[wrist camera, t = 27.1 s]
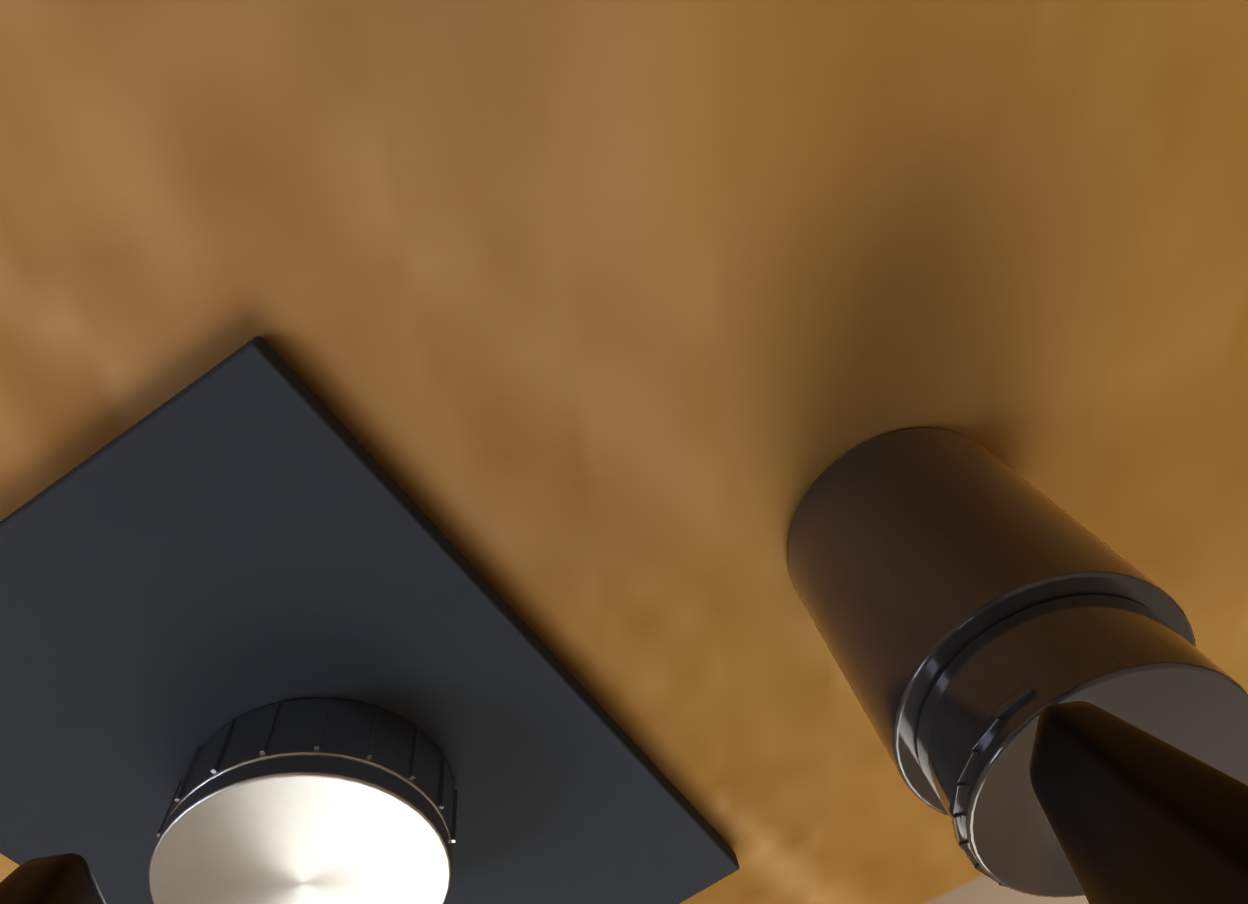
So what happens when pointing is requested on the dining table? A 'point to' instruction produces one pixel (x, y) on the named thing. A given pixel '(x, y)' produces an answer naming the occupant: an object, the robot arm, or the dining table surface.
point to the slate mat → (297, 654)
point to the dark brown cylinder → (992, 637)
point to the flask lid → (310, 812)
